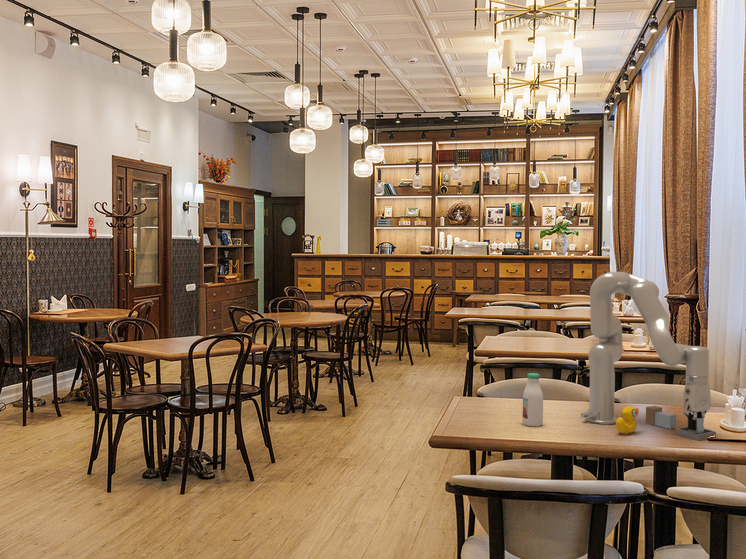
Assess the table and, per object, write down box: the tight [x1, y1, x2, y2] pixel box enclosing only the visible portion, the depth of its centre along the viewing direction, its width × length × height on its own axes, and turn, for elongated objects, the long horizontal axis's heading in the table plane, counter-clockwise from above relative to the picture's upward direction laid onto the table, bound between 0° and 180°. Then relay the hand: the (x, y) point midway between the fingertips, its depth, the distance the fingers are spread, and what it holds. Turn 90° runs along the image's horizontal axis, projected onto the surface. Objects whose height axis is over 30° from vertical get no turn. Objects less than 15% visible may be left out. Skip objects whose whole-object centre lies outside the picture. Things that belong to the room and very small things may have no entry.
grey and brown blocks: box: [645, 405, 677, 430], centre depth 267 cm, size 5×10×6 cm, turn 29°
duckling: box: [615, 405, 639, 435], centre depth 255 cm, size 11×5×10 cm, turn 122°
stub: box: [686, 418, 705, 433], centre depth 252 cm, size 4×4×5 cm
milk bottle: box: [522, 372, 544, 427], centre depth 267 cm, size 8×8×20 cm
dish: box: [674, 425, 717, 441], centre depth 253 cm, size 10×10×2 cm
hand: (695, 428), depth 252 cm, fingers closed on stub, 3 cm apart
